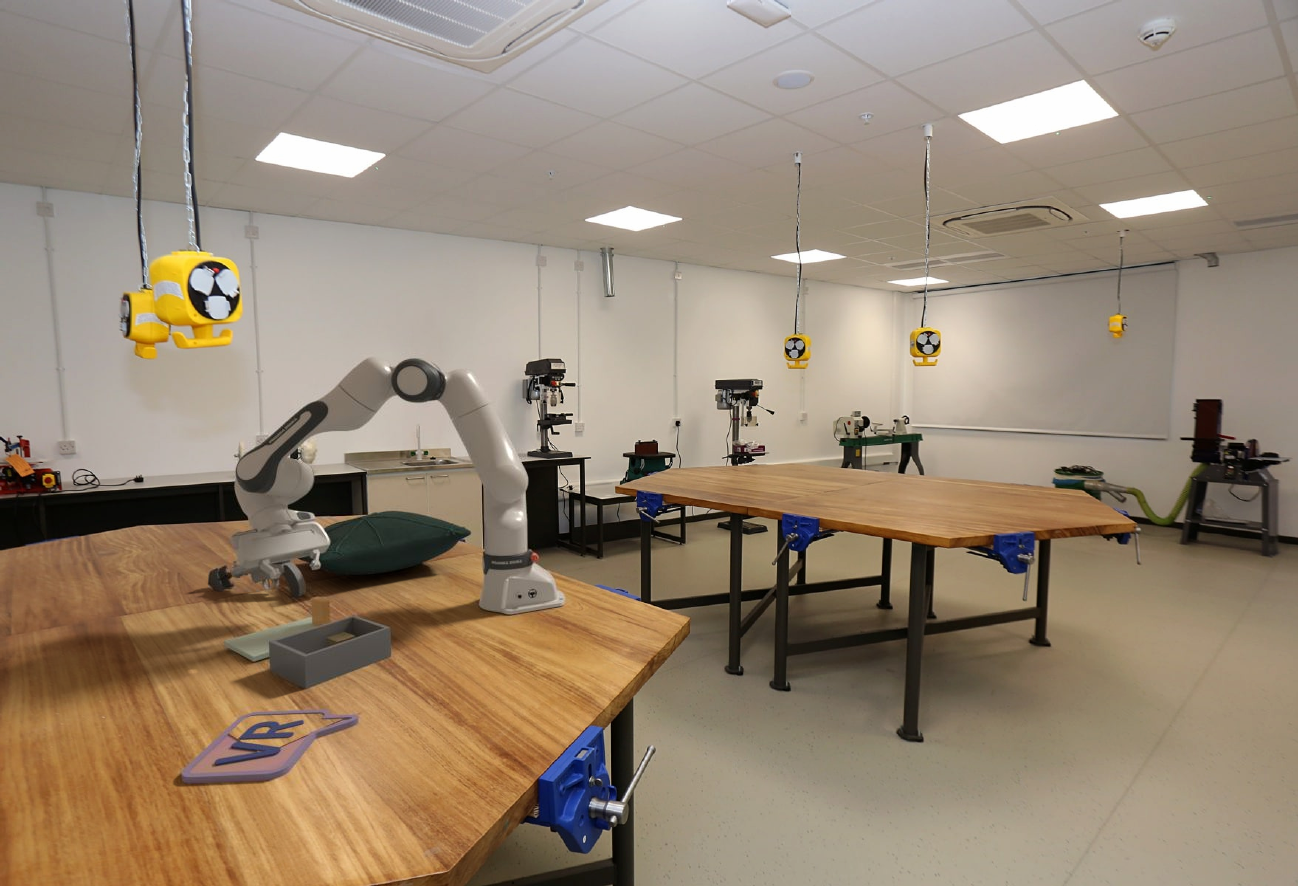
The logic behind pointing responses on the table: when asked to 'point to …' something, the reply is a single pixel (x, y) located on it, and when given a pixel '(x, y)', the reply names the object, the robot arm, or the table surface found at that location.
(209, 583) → the grey mechanical piece
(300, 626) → the lid
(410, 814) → the table surface
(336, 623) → the tub
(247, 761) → the icon
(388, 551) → the pillow
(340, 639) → the brass block
